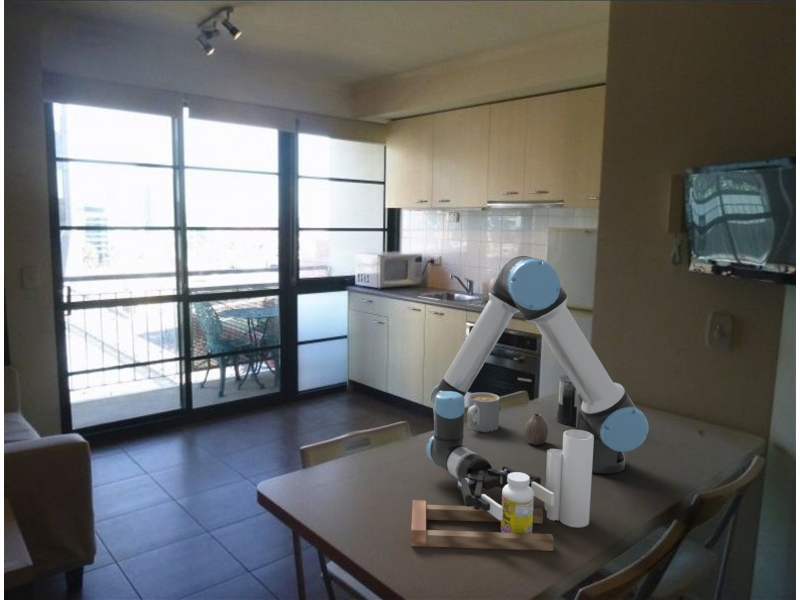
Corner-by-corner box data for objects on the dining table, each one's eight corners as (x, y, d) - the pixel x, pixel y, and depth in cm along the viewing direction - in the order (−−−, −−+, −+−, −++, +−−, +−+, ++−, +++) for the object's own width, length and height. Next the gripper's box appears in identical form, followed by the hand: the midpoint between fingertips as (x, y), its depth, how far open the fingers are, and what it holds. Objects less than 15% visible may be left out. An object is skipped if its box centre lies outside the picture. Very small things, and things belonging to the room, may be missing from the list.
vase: (534, 448, 174) (535, 420, 173) (519, 440, 180) (520, 413, 179) (552, 444, 177) (553, 416, 176) (537, 437, 183) (538, 410, 182)
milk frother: (555, 415, 204) (557, 374, 202) (602, 418, 201) (605, 376, 199) (559, 430, 190) (562, 385, 188) (610, 433, 187) (613, 388, 185)
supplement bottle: (497, 525, 130) (499, 470, 128) (526, 524, 130) (529, 469, 128) (505, 542, 123) (507, 483, 121) (536, 540, 124) (538, 482, 122)
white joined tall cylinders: (594, 520, 132) (599, 435, 130) (578, 531, 128) (582, 443, 125) (551, 502, 141) (555, 421, 138) (533, 512, 136) (537, 429, 133)
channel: (540, 518, 133) (541, 504, 132) (553, 550, 120) (554, 534, 119) (412, 514, 134) (412, 500, 133) (411, 545, 121) (411, 529, 121)
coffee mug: (482, 419, 199) (483, 390, 198) (504, 427, 191) (505, 397, 190) (453, 427, 191) (454, 397, 189) (475, 436, 183) (476, 405, 182)
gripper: (510, 473, 148) (571, 510, 129) (424, 493, 136) (477, 537, 118) (511, 444, 147) (573, 478, 128) (425, 462, 135) (478, 502, 117)
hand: (527, 506), depth 123 cm, fingers open, 13 cm apart
